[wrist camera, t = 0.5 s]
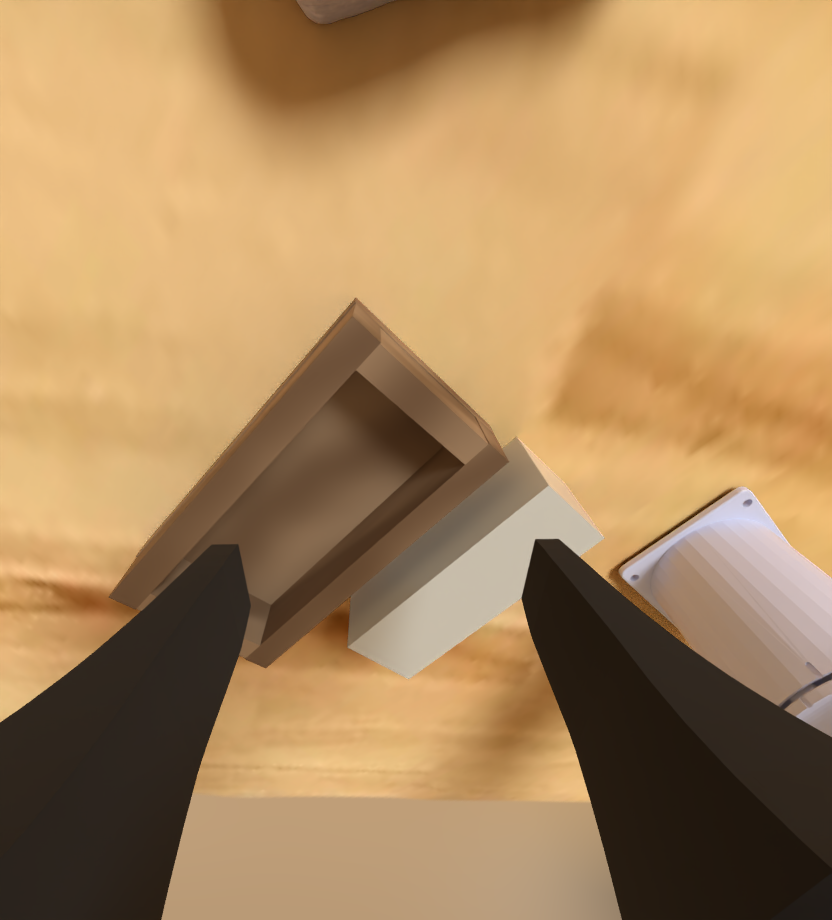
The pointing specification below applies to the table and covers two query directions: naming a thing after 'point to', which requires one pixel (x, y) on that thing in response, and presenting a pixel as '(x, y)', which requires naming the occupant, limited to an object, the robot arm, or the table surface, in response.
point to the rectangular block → (466, 565)
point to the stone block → (337, 9)
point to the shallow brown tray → (325, 483)
